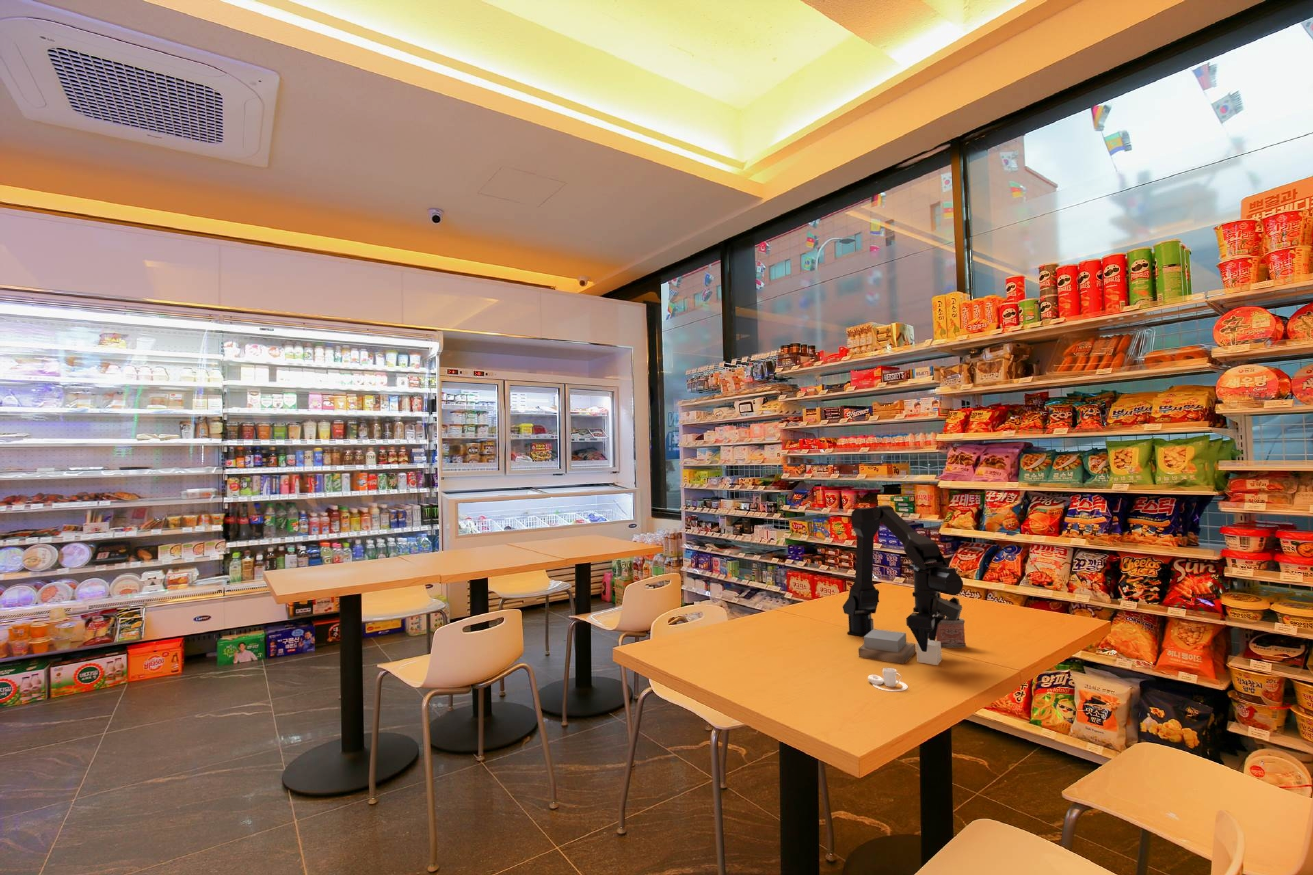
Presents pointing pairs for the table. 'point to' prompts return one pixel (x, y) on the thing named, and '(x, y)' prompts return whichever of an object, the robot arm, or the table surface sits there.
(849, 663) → the table surface
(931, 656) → the cube
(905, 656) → the base block
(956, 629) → the lighter
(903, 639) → the top block
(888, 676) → the teacup and saucer
